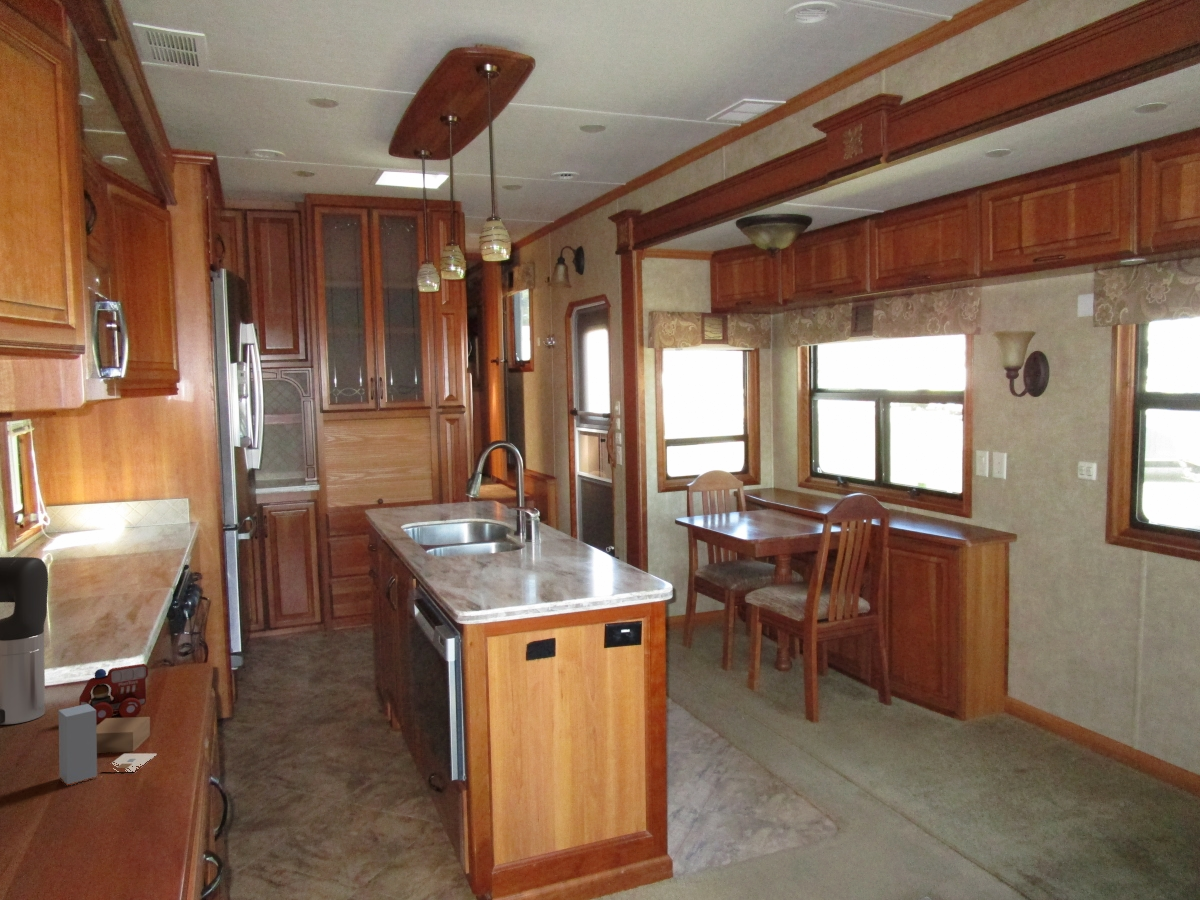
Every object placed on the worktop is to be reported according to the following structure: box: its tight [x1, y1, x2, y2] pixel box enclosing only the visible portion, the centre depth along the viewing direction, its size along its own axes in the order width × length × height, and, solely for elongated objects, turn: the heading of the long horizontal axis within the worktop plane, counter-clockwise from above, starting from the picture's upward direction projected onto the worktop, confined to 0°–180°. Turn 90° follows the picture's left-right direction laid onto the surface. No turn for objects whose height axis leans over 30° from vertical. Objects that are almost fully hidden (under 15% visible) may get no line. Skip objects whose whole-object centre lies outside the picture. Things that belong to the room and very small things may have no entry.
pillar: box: [58, 703, 98, 784], centre depth 144 cm, size 4×4×12 cm
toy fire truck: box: [78, 663, 149, 724], centre depth 173 cm, size 7×12×10 cm, turn 122°
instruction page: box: [111, 753, 157, 773], centre depth 150 cm, size 6×8×1 cm
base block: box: [96, 716, 151, 754], centre depth 159 cm, size 8×8×4 cm
